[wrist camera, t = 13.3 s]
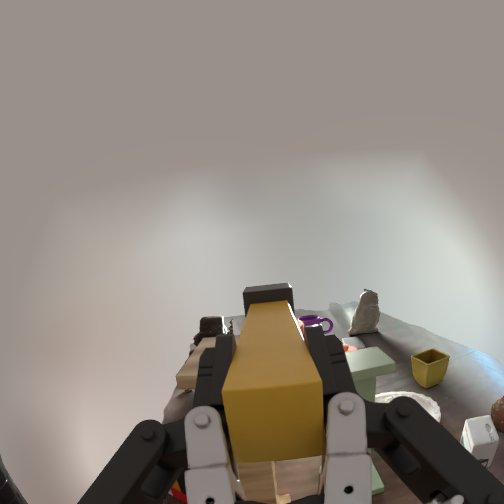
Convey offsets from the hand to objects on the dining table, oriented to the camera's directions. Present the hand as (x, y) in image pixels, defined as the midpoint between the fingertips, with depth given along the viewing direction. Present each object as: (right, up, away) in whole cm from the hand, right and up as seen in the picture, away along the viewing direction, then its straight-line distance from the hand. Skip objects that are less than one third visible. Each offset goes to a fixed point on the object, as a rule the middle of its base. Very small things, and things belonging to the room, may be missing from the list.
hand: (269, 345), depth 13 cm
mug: (+30, -37, +125) cm, 134 cm away
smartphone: (+42, -35, +105) cm, 118 cm away
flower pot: (+50, -34, +56) cm, 83 cm away
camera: (-17, -42, +124) cm, 132 cm away
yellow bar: (+1, -3, +5) cm, 6 cm away
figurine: (+53, -34, +120) cm, 136 cm away
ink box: (+36, -35, +16) cm, 53 cm away
